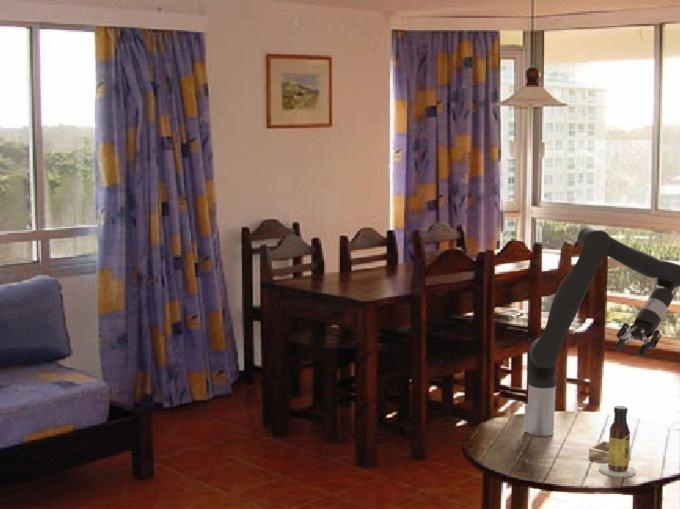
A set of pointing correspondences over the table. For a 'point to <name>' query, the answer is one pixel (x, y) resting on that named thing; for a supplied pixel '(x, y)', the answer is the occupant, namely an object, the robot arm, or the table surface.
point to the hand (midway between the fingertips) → (628, 352)
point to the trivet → (607, 471)
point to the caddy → (600, 451)
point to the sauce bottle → (619, 441)
